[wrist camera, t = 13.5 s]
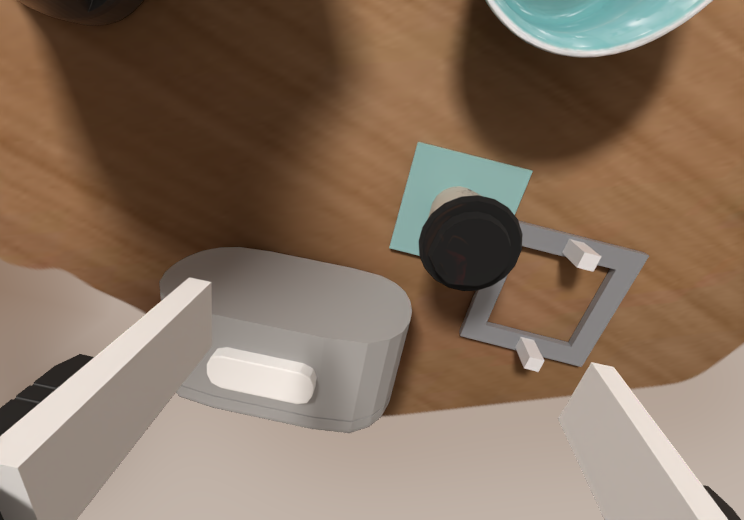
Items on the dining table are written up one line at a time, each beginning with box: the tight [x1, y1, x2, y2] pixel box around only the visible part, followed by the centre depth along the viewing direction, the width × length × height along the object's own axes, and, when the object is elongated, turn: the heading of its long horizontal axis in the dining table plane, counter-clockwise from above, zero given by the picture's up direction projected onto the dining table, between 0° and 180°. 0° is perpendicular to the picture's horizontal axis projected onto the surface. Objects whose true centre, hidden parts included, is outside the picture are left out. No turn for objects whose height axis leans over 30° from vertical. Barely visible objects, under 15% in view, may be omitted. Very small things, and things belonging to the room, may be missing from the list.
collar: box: [459, 221, 649, 372], centre depth 33 cm, size 13×13×4 cm
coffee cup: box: [419, 186, 523, 291], centre depth 28 cm, size 7×7×10 cm
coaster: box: [389, 141, 533, 256], centre depth 32 cm, size 10×10×1 cm
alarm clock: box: [159, 247, 412, 433], centre depth 32 cm, size 21×10×13 cm, turn 80°
